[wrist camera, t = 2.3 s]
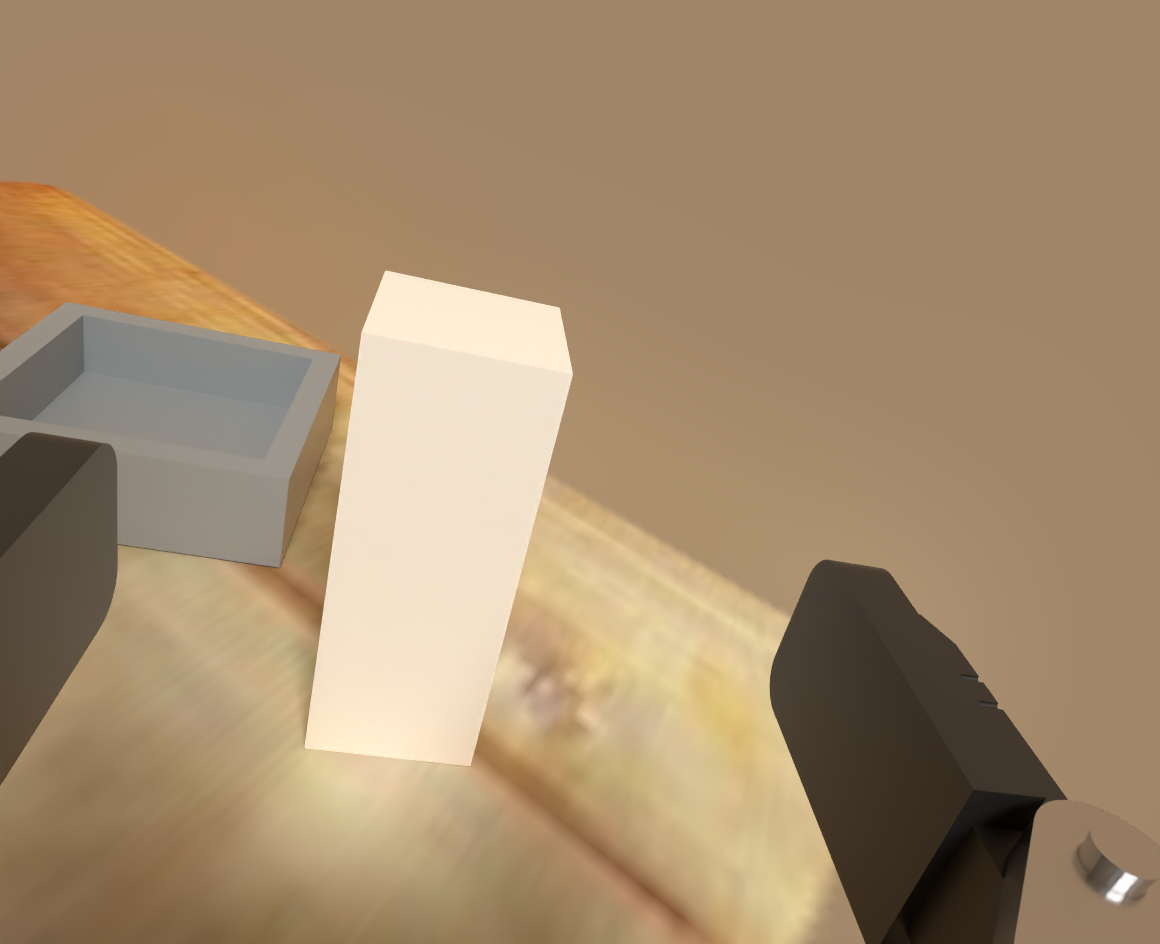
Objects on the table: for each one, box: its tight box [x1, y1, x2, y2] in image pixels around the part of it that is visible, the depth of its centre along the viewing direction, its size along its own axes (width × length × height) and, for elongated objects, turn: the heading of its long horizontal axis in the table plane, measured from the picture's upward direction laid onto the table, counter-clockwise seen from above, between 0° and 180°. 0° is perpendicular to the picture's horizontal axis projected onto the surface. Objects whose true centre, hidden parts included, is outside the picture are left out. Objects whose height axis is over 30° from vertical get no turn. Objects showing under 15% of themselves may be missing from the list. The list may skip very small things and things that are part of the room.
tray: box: [0, 302, 341, 568], centre depth 33 cm, size 11×11×4 cm
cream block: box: [304, 271, 573, 766], centre depth 23 cm, size 4×4×12 cm
